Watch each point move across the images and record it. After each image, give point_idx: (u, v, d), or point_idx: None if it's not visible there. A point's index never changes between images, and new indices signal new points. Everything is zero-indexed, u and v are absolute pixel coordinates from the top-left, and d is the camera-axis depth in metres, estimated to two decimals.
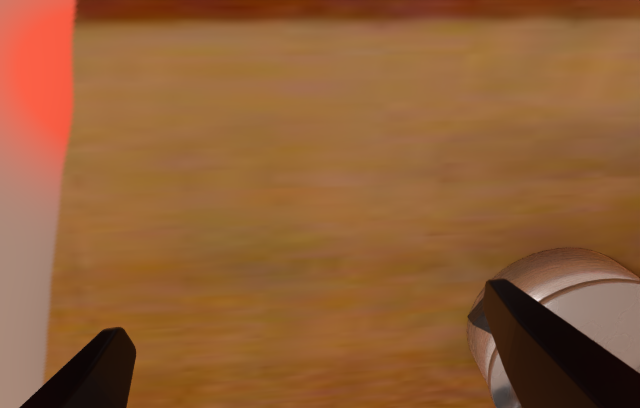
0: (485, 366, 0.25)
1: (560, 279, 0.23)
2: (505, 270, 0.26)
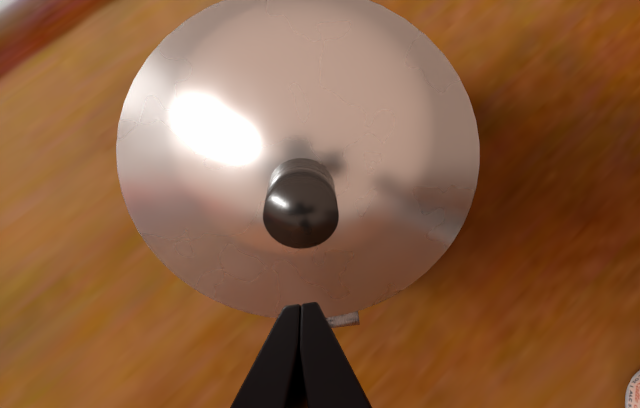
0: None
1: None
2: None
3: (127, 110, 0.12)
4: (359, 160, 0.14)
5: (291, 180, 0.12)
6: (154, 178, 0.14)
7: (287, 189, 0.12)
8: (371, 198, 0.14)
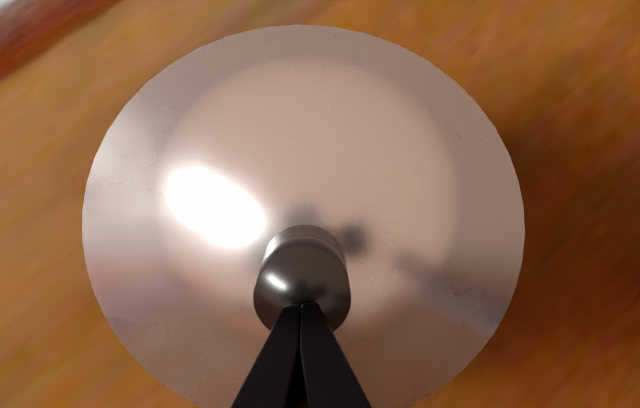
0: None
1: None
2: None
3: (98, 166, 0.10)
4: (375, 228, 0.11)
5: (290, 252, 0.09)
6: (126, 248, 0.11)
7: (284, 264, 0.09)
8: (390, 275, 0.12)
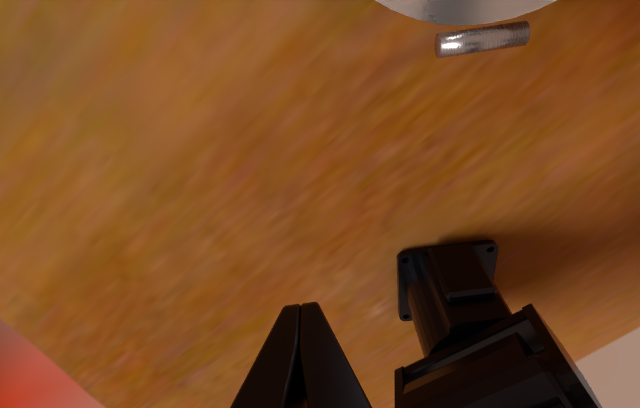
0: None
1: None
2: None
3: None
4: None
5: None
6: None
7: None
8: None
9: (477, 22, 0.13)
